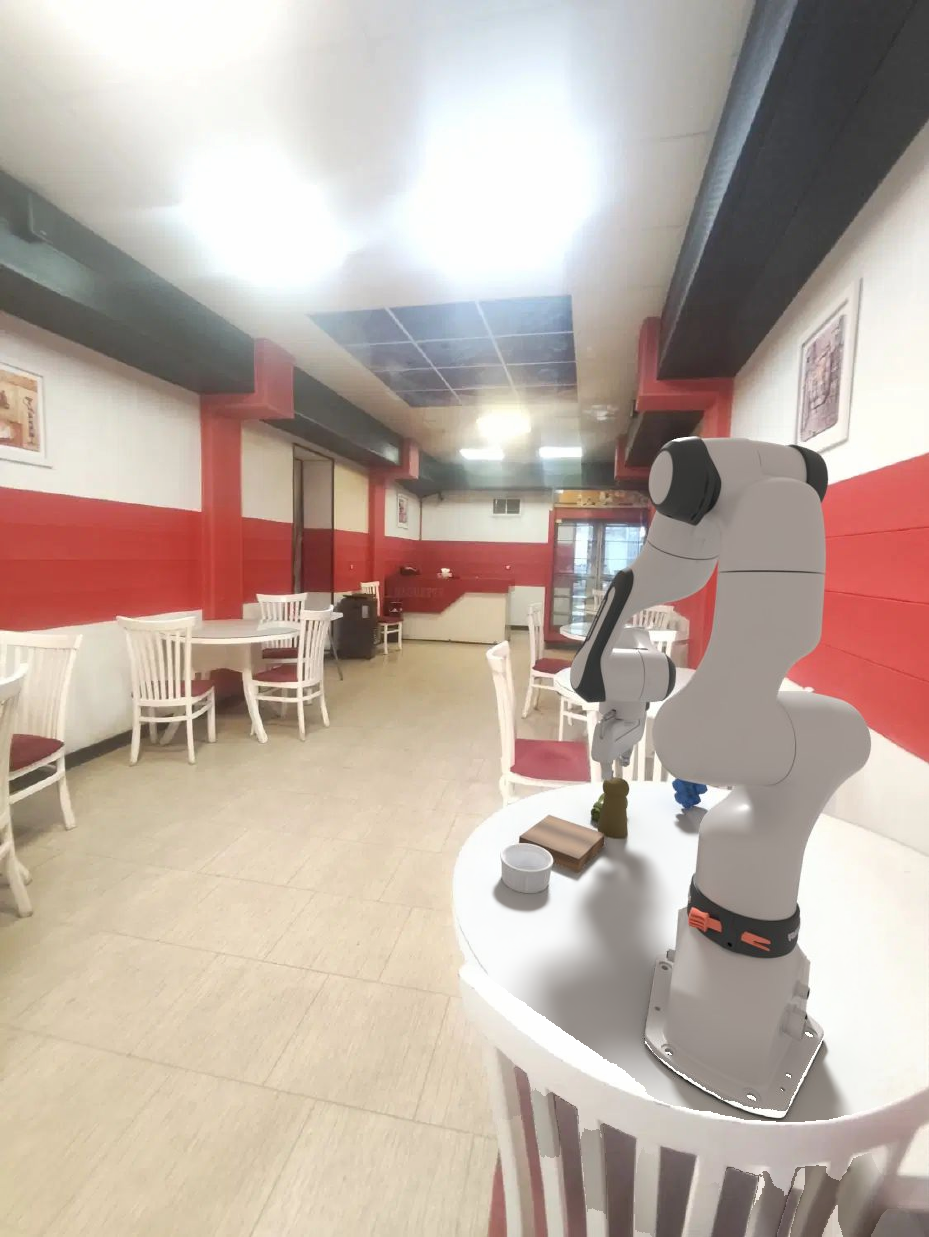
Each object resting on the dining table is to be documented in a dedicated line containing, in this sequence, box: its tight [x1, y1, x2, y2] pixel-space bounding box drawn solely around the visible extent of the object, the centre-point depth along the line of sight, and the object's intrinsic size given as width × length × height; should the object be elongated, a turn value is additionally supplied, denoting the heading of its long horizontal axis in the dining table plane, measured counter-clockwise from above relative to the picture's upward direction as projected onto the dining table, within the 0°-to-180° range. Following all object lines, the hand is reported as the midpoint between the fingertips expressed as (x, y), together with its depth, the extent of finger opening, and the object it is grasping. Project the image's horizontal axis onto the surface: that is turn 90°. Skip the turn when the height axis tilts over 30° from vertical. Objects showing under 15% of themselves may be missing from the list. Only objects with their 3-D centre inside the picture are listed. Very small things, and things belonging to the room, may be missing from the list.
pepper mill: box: [596, 776, 630, 840], centre depth 110 cm, size 6×6×11 cm
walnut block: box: [518, 814, 606, 873], centre depth 103 cm, size 12×12×2 cm
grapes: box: [671, 778, 708, 810], centre depth 122 cm, size 12×7×12 cm, turn 126°
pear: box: [590, 792, 629, 823], centre depth 117 cm, size 6×5×10 cm
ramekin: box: [499, 842, 554, 894], centre depth 91 cm, size 9×9×4 cm
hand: (616, 772), depth 110 cm, fingers open, 8 cm apart
